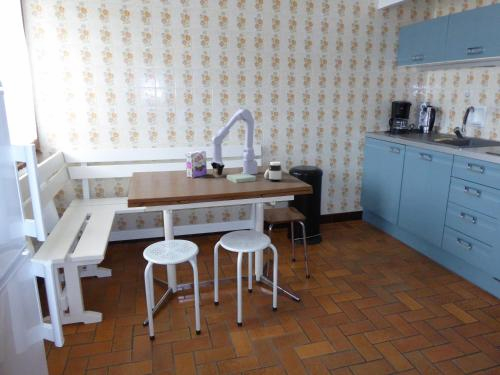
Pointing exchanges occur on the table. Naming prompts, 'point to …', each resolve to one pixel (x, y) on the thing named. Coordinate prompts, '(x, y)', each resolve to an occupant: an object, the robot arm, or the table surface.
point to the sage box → (241, 177)
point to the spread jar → (274, 172)
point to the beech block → (216, 173)
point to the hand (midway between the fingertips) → (217, 174)
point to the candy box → (196, 164)
